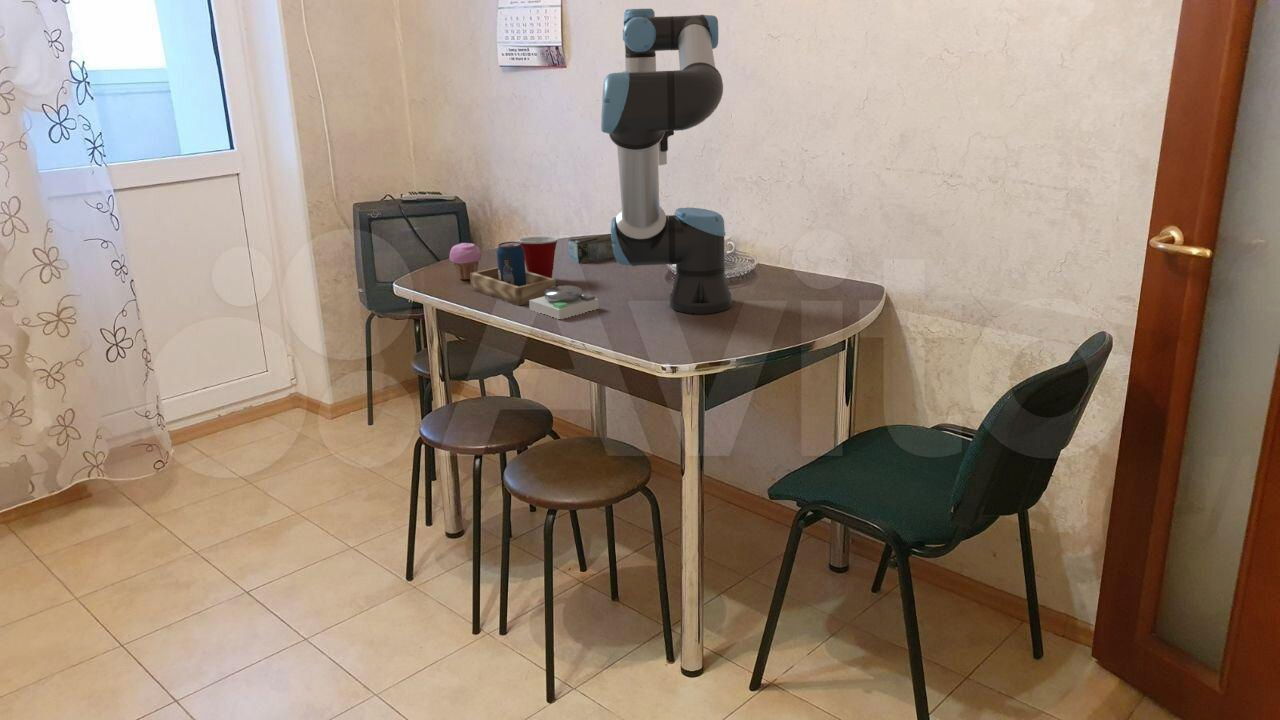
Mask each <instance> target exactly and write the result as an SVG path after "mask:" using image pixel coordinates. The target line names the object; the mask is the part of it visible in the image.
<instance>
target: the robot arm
mask: <svg viewBox="0 0 1280 720" xmlns="http://www.w3.org/2000/svg"><path fill="white" fill-rule="evenodd" d="M655 13H656V12H655V11H654V9H653V8H627V9H625V11H624V15H623V29H622V40H623V43H624V50H625V53H624V54H625V57H624V58H625V59H624V60H625V61H624V63H625V64H624V65H625V70H624V71H622V72H612V73H611V72H610V73H609V74H607V75H606V76H605V78H604V80H603V86H602V87H603V89H602V100H601V101H602V103H601V120H600V121H601V123H600V130H601V132H602V133H605V134H609V138H610V140H611V141H612V143H613V144H614V145H615V146H616V147H617V160H618V173H619V186H620V187H619V188H620V200H621V202H620V203H621V208H620V209H619V211H617V215H616V216H614V217H612V219H611V221H610V234H611V239H612V246H613V252H614V255H615V258H614V259H615V261H617V263H618V264H619V265H621V266H631V267H636V266H638V267H639V266H661V265H663V266H665V265H675V267H676V269H675V271H676V273H675V279H674V281H673V286H672V291H671V293H670V295H669V307H670V309H672V310H674V311H676V312H679V313H684V312H685V314H692V313H694V314H693V315H697V314H698V315H699V314H701V315H703V314H704V315H705V314H715V313H719V312H724V311H726V310H728V309H730V308H731V307H732V306H733V297H732V293H731V292H730V289H729V285H728V284H729V283H728V281H727V278H726V277H727V276H726V274H725V270H726V269H725V268H726V267H725V265H726V264H725V257H726V256H725V255H726V254H725V237H726V232H725V231H726V230H725V220H724V217H723V216H722V215H721V214H720V213H719V212H717V211H713V210H711V209H706V208H705V209H704V208H700V207H678V208H677V209H676V210H675V212H674V214H673V215H672V214H670V215H668V214H667V215H666V212H665V211H664V209H663V208H662V207H661V206H660V184H659V183H660V182H659V176H660V175H659V166H663V165H664V166H665V165H668V160H667V159H668V158H667V157H668V156H667V155H668V154H667V152H668V150H669V145H668V144H669V140H668V139H669V138H670V137H671V136H674V134H675V131H677V132H678V131H685V130H689V129H691V128H693V127H696V126H698V125H700V124H701V123H703V122H704V121H705V120H707V119H708V118H709V117H710V116H711V115H712V114H713V113H714V112H715V110H717V108H718V106H719V104H720V103H721V101H722V98H723V95H724V94H723V93H724V84H723V78H722V75H721V73H720V71H719V70H718V69H717V68H716V63H715V58H714V57H715V56H714V51H713V50H714V49H716V48H717V47H718V45H719V19H718V18H717V16H716V15H711V14H697V15H693V14H692V15H675V16H674V15H673V16H672V15H670V16H655ZM658 51H659V52H660V51H664V52H665V51H678V59H679V61H678V62H679V70H659V71H658V70H657V59H656V58H657V57H656V56H657V55H656V54H657V53H656V52H658Z"/></svg>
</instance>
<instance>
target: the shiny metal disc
mask: <svg viewBox="0 0 1280 720" xmlns="http://www.w3.org/2000/svg"><path fill="white" fill-rule="evenodd" d="M582 295H583V290H582V288H581V287H579V286H575V285H558V286H556V285H555V287H551V288H548V289H546V290H545V299H546V300H549V301H554V302H567V301H573V300H577V299H579V298H581V297H582Z"/></svg>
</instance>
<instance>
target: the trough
mask: <svg viewBox="0 0 1280 720" xmlns="http://www.w3.org/2000/svg"><path fill="white" fill-rule="evenodd" d="M525 272H526V285H523V286H516V285H512V284H509V283H506V282H503V281H500V280H499V274H498V266H495V267H490V268H488V269H487V268H486V269H482V270H479V271H478V270H477V272H473V273H470V279H469V280H470V289H471V290H472V291H475V292H477V293H480V294H483V295H486V296H489V297H491V298H494V297H495V299H497V298H498V300H500V299H501V300H500V301H503V300H504V302H506V301H507V303H510V304H512V305H516V306H519V307H520V306H523V305H527V304H529V300H532V299H536V298H540V297H544V296H545V290H546V289H548V288H551V287H556V279H555V278H553V277H552V278H549V277H546V276H542V275H539V274H535V273H532V272H528V271H527V270H525Z"/></svg>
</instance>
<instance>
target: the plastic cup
mask: <svg viewBox="0 0 1280 720" xmlns="http://www.w3.org/2000/svg"><path fill="white" fill-rule="evenodd" d="M558 241H559V237H556V236H544V235H543V236H528V237H521V238H519V239H517V242H519V243H521V246H522V248H523V249H524V259H525V269H526V271H528V272H532V273H535V274H539V275H542V276H546V277H549V278H552V279H553V270H554V262H555V255H556V248H557V244H558Z"/></svg>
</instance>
